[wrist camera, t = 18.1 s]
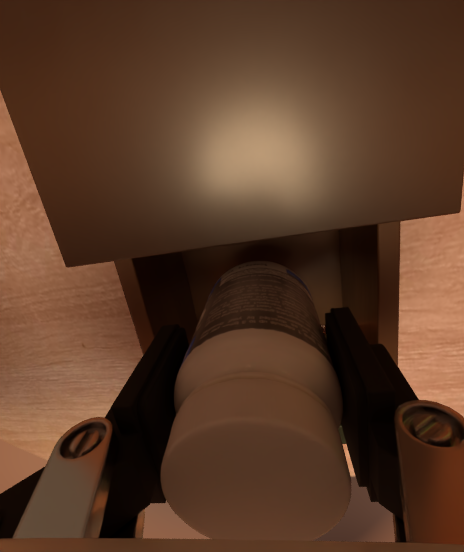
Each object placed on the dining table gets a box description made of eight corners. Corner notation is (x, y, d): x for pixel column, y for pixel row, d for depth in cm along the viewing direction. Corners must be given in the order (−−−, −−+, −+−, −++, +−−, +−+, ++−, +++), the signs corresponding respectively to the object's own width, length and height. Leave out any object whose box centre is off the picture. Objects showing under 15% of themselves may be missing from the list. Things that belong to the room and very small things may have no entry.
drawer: (365, 409, 23) (411, 524, 16) (206, 417, 25) (182, 523, 18) (358, 133, 17) (430, 113, 9) (144, 173, 18) (67, 181, 11)
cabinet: (365, 187, 18) (461, 213, 9) (153, 220, 20) (65, 268, 12) (359, -152, 13) (544, -767, 5) (80, -63, 16) (-169, -363, 7)
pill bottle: (194, 273, 14) (101, 424, 6) (298, 246, 13) (349, 381, 5) (226, 359, 15) (186, 570, 7) (322, 340, 14) (389, 557, 6)
